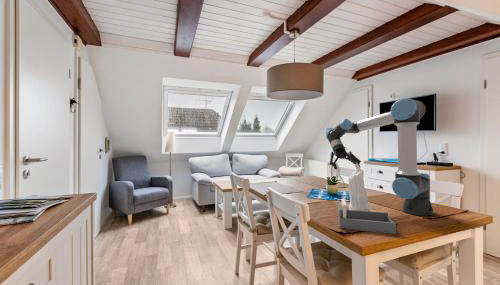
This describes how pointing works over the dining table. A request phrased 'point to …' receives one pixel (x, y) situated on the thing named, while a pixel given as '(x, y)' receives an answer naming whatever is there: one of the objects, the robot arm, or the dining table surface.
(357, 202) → the decorative vase
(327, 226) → the dining table surface
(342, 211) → the plate
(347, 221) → the grey tray
